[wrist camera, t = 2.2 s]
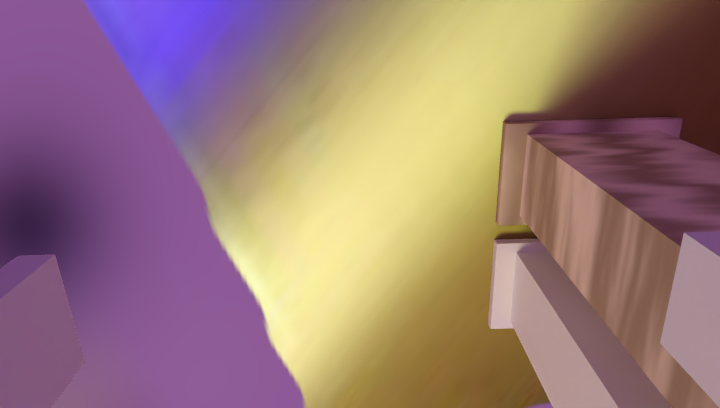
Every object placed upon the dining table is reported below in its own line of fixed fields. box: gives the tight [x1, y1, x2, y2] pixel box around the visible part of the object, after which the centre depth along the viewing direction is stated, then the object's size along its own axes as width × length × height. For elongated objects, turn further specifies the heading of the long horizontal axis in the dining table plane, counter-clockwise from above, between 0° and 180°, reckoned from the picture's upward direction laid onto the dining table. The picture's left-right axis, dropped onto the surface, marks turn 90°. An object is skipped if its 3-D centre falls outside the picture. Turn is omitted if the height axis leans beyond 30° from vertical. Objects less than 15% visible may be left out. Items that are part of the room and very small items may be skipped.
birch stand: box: [496, 117, 720, 408], centre depth 32 cm, size 16×10×34 cm, turn 92°
